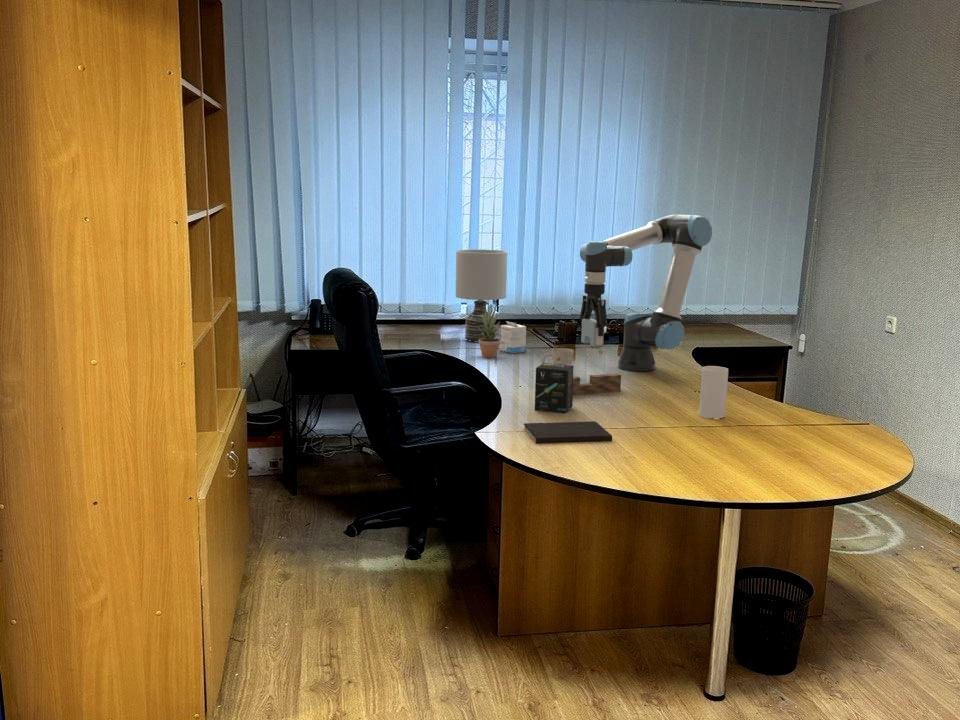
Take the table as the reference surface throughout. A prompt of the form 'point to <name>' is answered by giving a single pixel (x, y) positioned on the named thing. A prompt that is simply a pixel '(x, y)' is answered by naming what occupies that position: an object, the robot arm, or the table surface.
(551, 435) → the hardcover book
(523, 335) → the white box
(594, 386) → the walnut rail
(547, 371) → the tampon box
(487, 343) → the potted plant
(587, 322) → the blue-grey notched block
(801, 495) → the table surface
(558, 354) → the mug
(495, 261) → the lamp
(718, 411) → the cup
